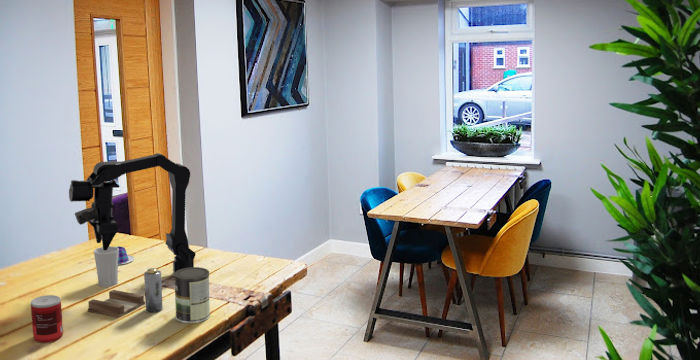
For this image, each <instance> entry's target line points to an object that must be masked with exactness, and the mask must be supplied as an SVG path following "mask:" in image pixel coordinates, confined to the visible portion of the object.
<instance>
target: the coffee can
mask: <svg viewBox="0 0 700 360" xmlns="http://www.w3.org/2000/svg"><path fill="white" fill-rule="evenodd" d="M173 277H174V295H175V296H174V297H175V298H174V300H175V302H174V303H175V320H176V321H177V322H179V323H182V324H199V323H202V322H206V321H207V320H209V318H210V317H211V312H210V311H211V310H210V309H211V306H210V304H211V302H210V271H209V269H207V268H204V267H199V266H198V267H197V266H194V267H190V268H183V269H180V270H178V271H176V272H175V273H174V272H173Z"/></svg>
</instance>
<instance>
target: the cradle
mask: <svg viewBox="0 0 700 360" xmlns="http://www.w3.org/2000/svg"><path fill="white" fill-rule="evenodd" d="M108 296H109V297H108V299H105V300H99V299H98V300H97V299H95V298H94V299H91V300H89V301H88V302H87V303H88V308H87V312H90V313H95V314H99V315H104V316H109V317H113V318H122V317H123V316H125V315H127V314H128V313H129V314H130V312H131V313H132V312H133V311H134V310H137V309H138V308H140V307H142V306H144V305H146V303H145V294H144V295H142V294H137V293H133V292H128V291H122V290H116V289H112V290H111V291H108Z"/></svg>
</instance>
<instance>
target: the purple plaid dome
mask: <svg viewBox="0 0 700 360" xmlns="http://www.w3.org/2000/svg"><path fill="white" fill-rule="evenodd" d="M116 247H117V248H118V249H119V254H118V266H119V265H124V264H128V263H131V262H132V261H134V259H135V257H134V256H133V255H128V254H127V250H126V248H125V247H124V246H116Z"/></svg>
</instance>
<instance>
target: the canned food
mask: <svg viewBox="0 0 700 360" xmlns="http://www.w3.org/2000/svg"><path fill="white" fill-rule="evenodd" d="M30 314H31V326H32V335H33V339H34V341H36V342H37V343H43V344H44V343H45V344H46V343H52V342H55V341H58V340H60V339H61V338H62V337H63V334H64V328H63V327H64V326H63V325H64V324H63V315H62V314H63V312H62V300H61V297H60V296H58V295H53V294H50V295H49V294H48V295H47V294H46V295H42V296H38V297H35V298H33V299H31V301H30Z"/></svg>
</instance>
